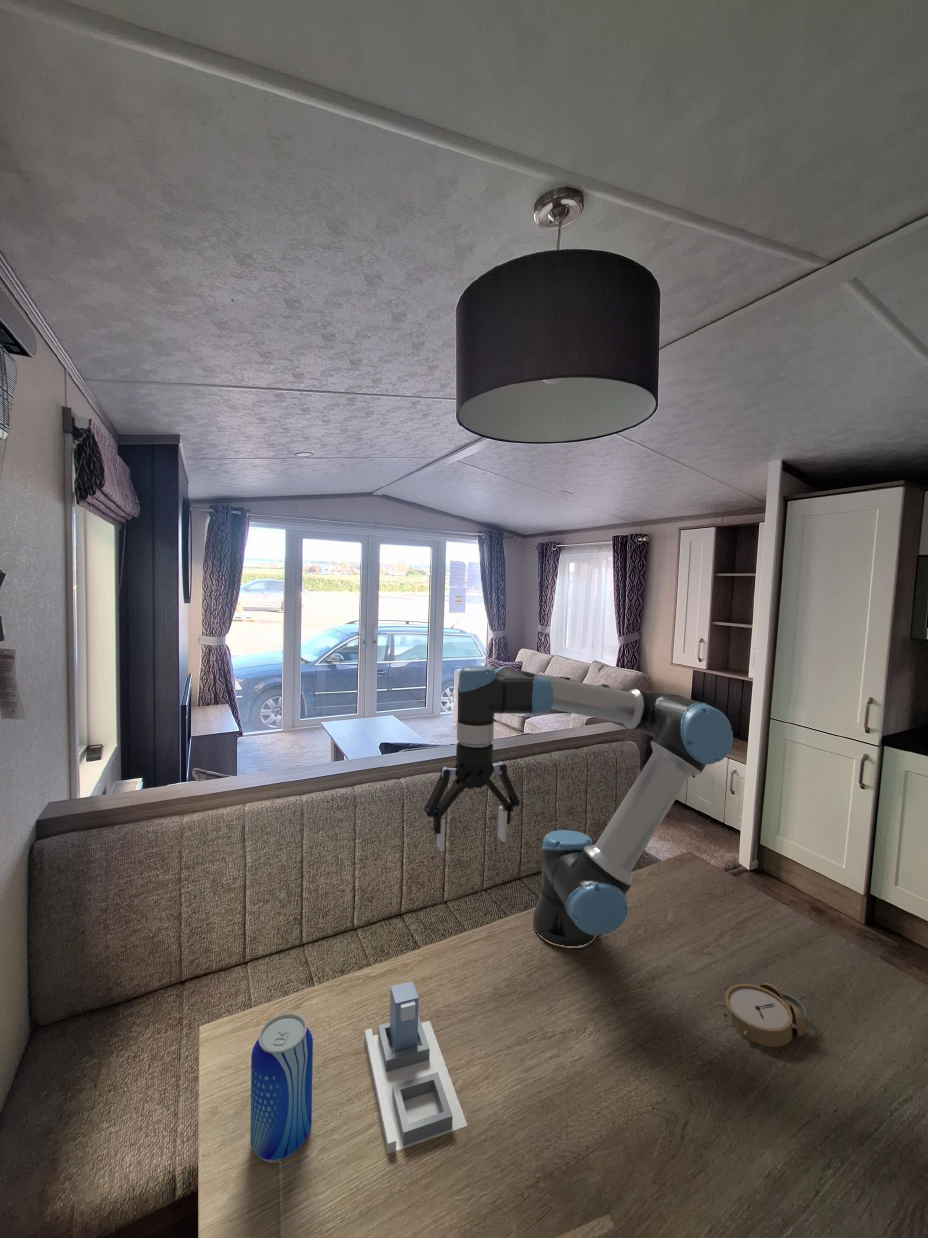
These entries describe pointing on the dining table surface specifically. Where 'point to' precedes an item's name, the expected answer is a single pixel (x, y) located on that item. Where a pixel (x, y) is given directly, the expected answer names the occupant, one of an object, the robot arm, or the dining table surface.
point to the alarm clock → (764, 1014)
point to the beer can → (281, 1088)
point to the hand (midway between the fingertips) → (471, 843)
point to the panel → (412, 1089)
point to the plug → (403, 1017)
